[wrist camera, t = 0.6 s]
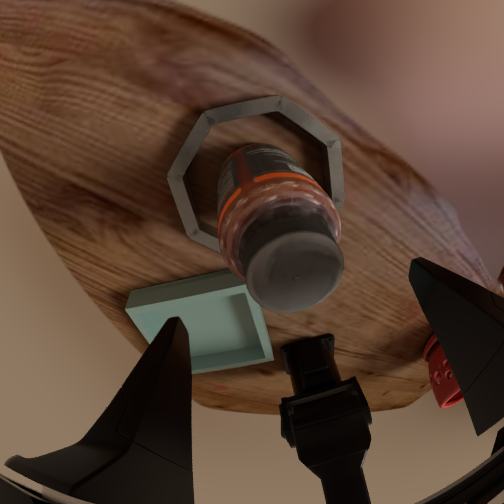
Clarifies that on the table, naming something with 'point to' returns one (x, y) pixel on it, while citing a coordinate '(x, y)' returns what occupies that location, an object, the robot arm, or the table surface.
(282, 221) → the supplement bottle
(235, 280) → the tray
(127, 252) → the table surface
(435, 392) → the plant pot
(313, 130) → the holder ring
